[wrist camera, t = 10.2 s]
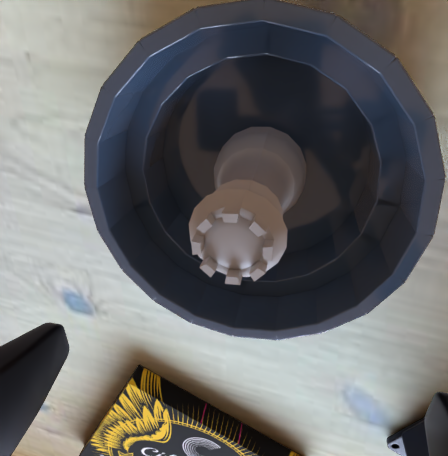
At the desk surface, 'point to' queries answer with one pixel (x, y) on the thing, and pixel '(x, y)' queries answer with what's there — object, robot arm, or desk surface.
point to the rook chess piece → (248, 204)
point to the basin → (285, 122)
